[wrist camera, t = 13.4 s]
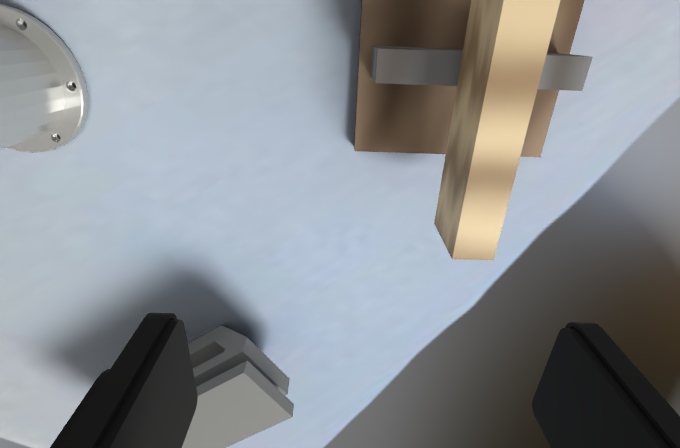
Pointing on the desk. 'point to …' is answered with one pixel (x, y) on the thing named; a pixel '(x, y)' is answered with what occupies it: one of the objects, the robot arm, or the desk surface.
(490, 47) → the oak batten
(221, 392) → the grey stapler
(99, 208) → the desk surface
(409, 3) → the stand
